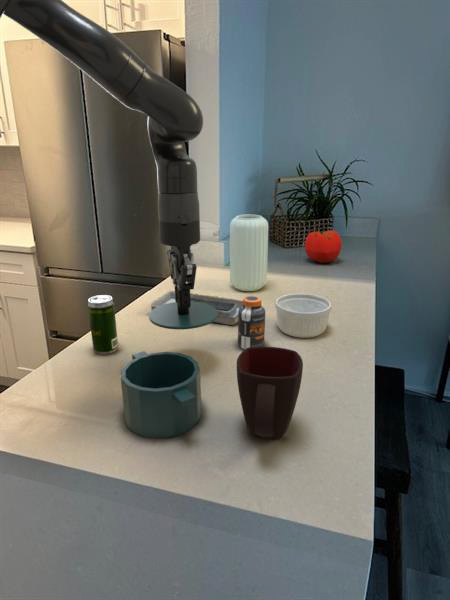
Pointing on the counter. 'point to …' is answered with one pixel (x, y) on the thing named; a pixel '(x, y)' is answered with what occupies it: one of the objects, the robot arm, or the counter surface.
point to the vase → (248, 252)
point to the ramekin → (302, 314)
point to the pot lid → (183, 315)
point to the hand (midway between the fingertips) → (183, 304)
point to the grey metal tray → (216, 302)
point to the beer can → (103, 324)
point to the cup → (268, 389)
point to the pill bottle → (251, 323)
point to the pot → (161, 394)
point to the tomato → (323, 246)
